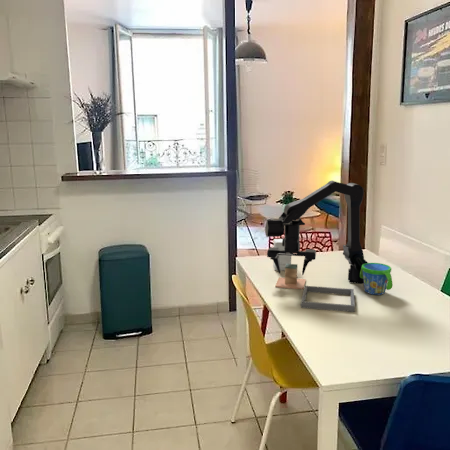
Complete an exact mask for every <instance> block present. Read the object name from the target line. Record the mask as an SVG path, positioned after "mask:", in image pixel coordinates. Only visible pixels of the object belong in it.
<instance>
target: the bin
mask: <svg viewBox="0 0 450 450" xmlns="http://www.w3.org/2000/svg"><path fill="white" fill-rule="evenodd" d="M318 292H320V293H321V294H332V293H334V294H335V295H348V296H350V304H345V303H330V302H318V301H317V302H316V301H306V298H307V295H308V293H318ZM320 293H319V294H320ZM355 304H356V303H355V291H354V288H345V287H344V288H343V287H342V288H341V287H330V286H329V287H327V286H315V285H305V286H304V289H303V292H302V297H301V301H300V308H302V309H303V308H304V309H314V310H325V311H326V310H327V311H338V312H339V311H341V312H354V313H355V309H356V308H355V307H356V306H355Z"/></svg>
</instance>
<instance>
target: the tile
mask: <svg viewBox="0 0 450 450" xmlns="http://www.w3.org/2000/svg"><path fill="white" fill-rule="evenodd" d="M306 282H307V279H306V278H297V283H296V285H294V284H285V277H281V276H280V277H278V279H277V281H276V283H275V288H281V289H295V290H304V287H305V286H306V285H305V284H306Z"/></svg>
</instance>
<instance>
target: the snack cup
mask: <svg viewBox="0 0 450 450" xmlns="http://www.w3.org/2000/svg"><path fill="white" fill-rule="evenodd" d="M391 273H392V267H391V266H390V265H387V264H386V263H385V264H384V263H379V262H368V263H365V264H363V265H362V267H361V271H360V278H363V279H364V284H363V288H364V291H365V292H366V293H367V294H370V295H372V296H373V295H375V296H379V295H380V296H381V295H383V294H385V293H386V291H389V290H391V289H393V278H392V274H391Z"/></svg>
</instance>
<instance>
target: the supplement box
mask: <svg viewBox="0 0 450 450" xmlns="http://www.w3.org/2000/svg"><path fill="white" fill-rule="evenodd" d="M282 241H283V238H274V239H273V247H275V248H279V250H284V246H282ZM279 260H280V271H285V266H286V264H292V256H289V255H279ZM272 263H273V265H272V266H273V269H274V271H278V270H277V267H276V265H275V263H274V261H273V260H272Z"/></svg>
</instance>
